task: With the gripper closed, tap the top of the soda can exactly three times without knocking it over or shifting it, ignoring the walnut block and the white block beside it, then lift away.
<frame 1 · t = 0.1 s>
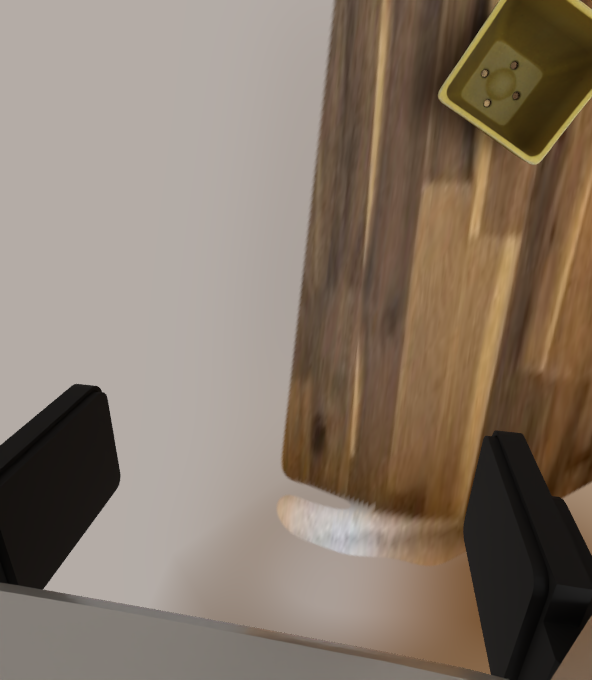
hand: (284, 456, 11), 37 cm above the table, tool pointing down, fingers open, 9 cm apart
flower pot: (499, 83, 39), on the table
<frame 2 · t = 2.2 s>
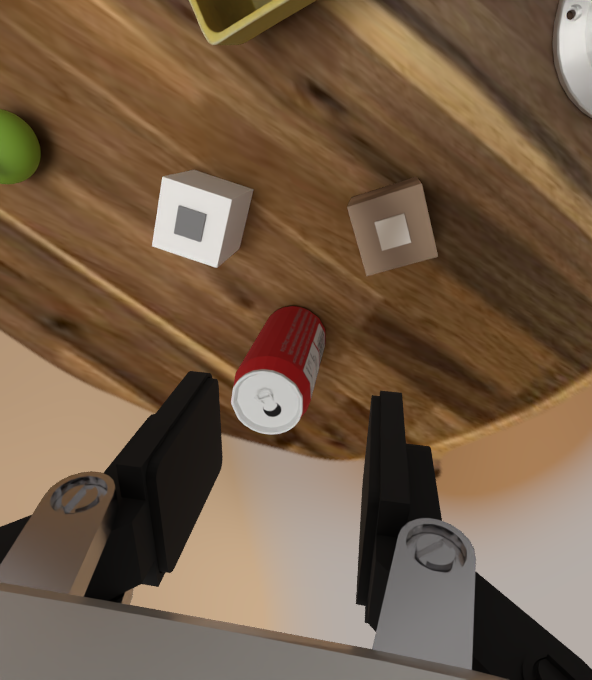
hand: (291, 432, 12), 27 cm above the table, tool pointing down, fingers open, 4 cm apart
snail figurine: (30, 151, 39), on the table
soda can: (296, 332, 42), on the table
white block: (217, 210, 38), on the table
walnut block: (391, 219, 36), on the table
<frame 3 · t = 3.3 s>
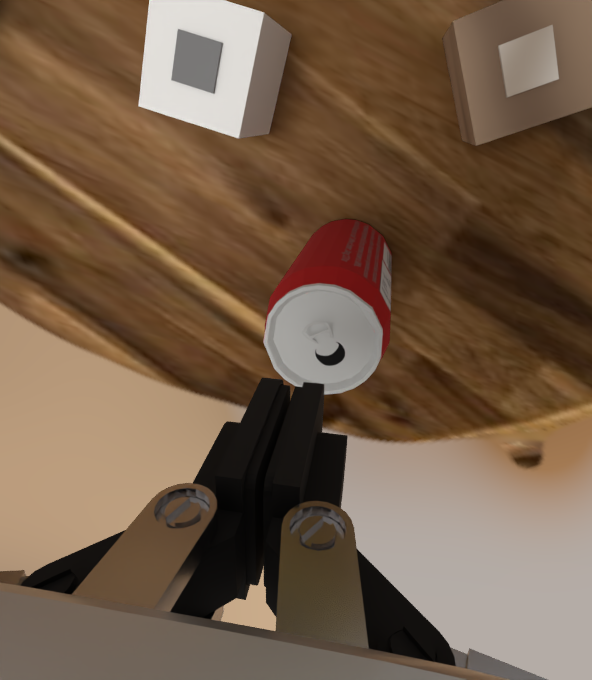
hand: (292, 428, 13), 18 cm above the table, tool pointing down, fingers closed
soda can: (347, 261, 29), on the table
white block: (237, 73, 26), on the table
walnut block: (503, 72, 24), on the table
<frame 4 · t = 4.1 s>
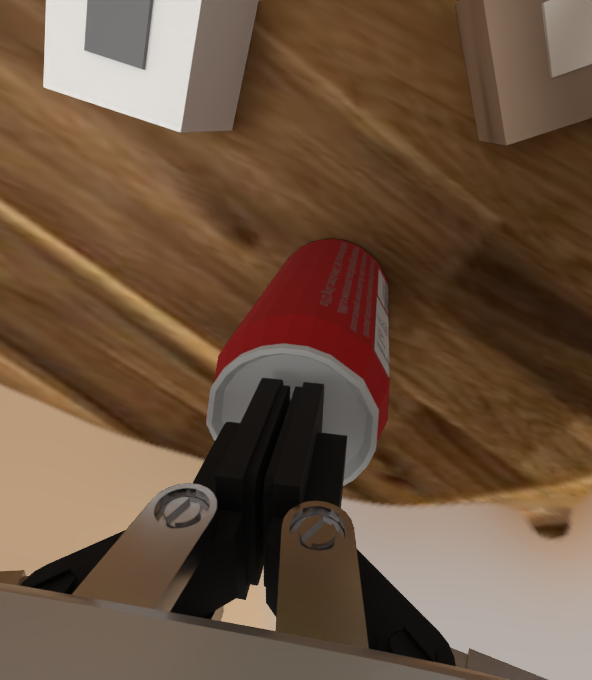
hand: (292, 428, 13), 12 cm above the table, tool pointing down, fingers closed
soda can: (332, 290, 24), on the table, touching gripper
white block: (190, 51, 20), on the table
walnut block: (534, 52, 18), on the table
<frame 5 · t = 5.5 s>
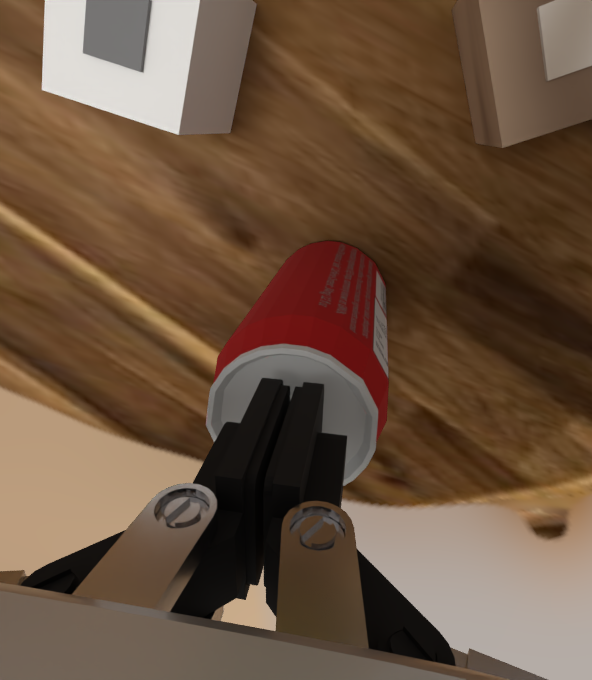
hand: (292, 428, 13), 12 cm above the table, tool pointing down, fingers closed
soda can: (330, 292, 24), on the table, touching gripper
white block: (188, 54, 20), on the table
walnut block: (529, 55, 18), on the table
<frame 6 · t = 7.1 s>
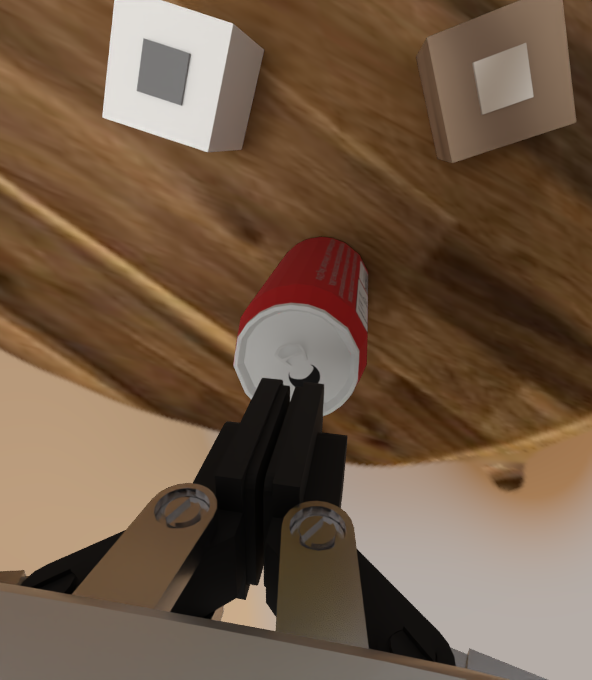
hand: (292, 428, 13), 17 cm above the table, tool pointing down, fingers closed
soda can: (323, 280, 29), on the table
white block: (208, 87, 25), on the table
walnut block: (476, 91, 24), on the table
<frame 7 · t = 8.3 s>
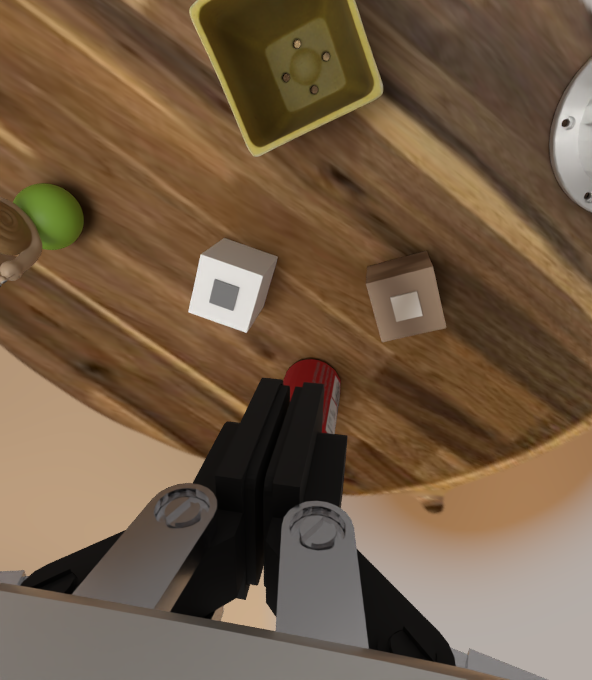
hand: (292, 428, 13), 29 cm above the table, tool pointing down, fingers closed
snail figurine: (72, 216, 42), on the table
soda can: (313, 381, 45), on the table
flower pot: (307, 69, 35), on the table
white block: (244, 273, 42), on the table
walnut block: (403, 286, 40), on the table
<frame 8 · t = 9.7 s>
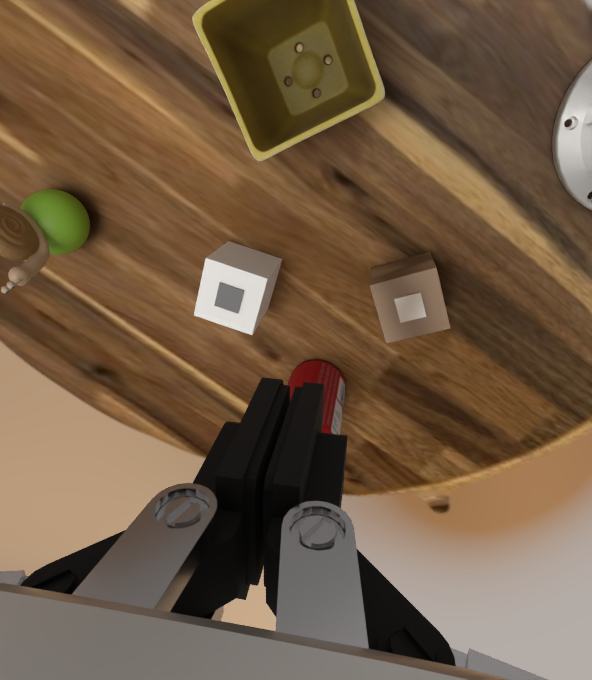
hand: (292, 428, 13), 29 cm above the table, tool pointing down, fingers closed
snail figurine: (79, 221, 43), on the table
soda can: (318, 382, 46), on the table
flower pot: (310, 73, 35), on the table
white block: (248, 275, 42), on the table
walnut block: (407, 287, 40), on the table
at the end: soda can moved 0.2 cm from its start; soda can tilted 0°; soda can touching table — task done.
